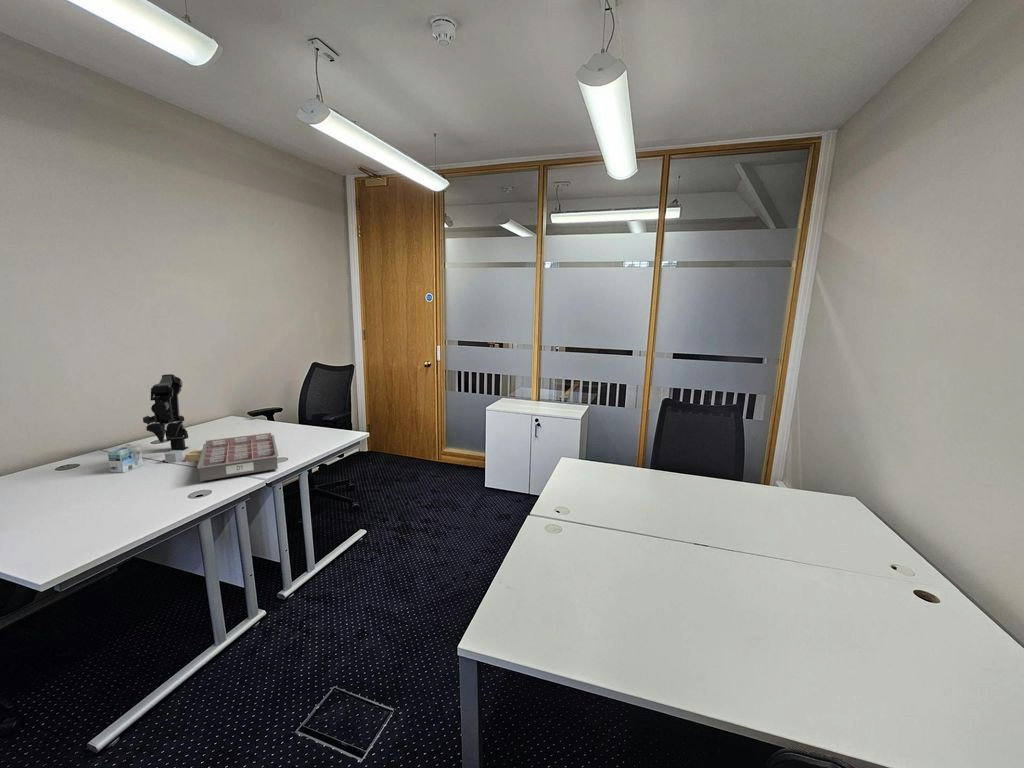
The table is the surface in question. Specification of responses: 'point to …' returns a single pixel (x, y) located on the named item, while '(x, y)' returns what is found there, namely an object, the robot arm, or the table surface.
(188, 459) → the oak block
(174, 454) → the stone cube
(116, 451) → the light bulb box
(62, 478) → the table surface
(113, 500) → the table surface
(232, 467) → the organizer tray
